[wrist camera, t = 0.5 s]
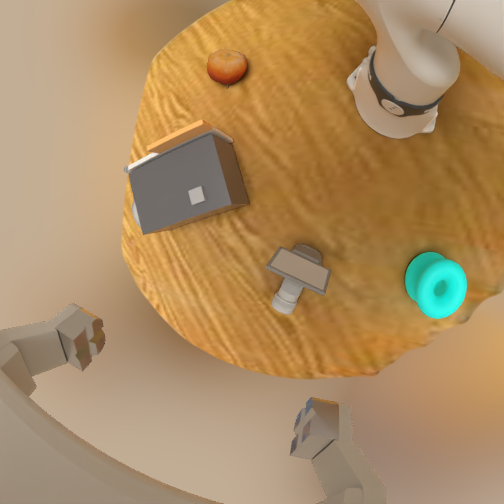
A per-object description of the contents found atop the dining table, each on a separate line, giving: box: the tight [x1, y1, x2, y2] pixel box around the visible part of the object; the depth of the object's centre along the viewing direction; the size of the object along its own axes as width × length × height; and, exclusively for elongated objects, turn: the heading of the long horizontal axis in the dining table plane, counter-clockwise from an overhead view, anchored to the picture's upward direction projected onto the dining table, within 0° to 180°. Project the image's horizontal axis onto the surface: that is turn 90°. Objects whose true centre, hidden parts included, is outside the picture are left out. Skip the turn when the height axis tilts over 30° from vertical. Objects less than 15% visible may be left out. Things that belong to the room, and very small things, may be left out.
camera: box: [266, 244, 331, 314], centre depth 44 cm, size 9×12×15 cm
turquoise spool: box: [405, 252, 467, 319], centre depth 39 cm, size 10×10×10 cm
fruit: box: [207, 50, 247, 88], centre depth 45 cm, size 8×8×8 cm
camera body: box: [129, 134, 250, 235], centre depth 49 cm, size 20×12×11 cm, turn 106°
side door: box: [124, 120, 233, 173], centre depth 46 cm, size 19×1×14 cm, turn 106°
